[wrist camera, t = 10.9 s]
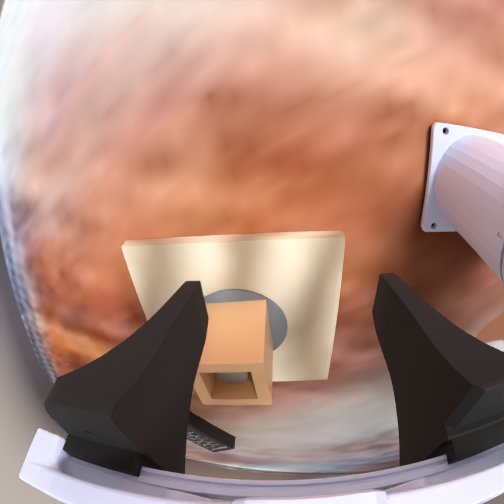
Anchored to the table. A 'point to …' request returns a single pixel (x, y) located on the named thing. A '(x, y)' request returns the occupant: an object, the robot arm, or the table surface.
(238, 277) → the post board
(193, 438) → the multiport hub
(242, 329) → the collar
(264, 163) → the table surface
